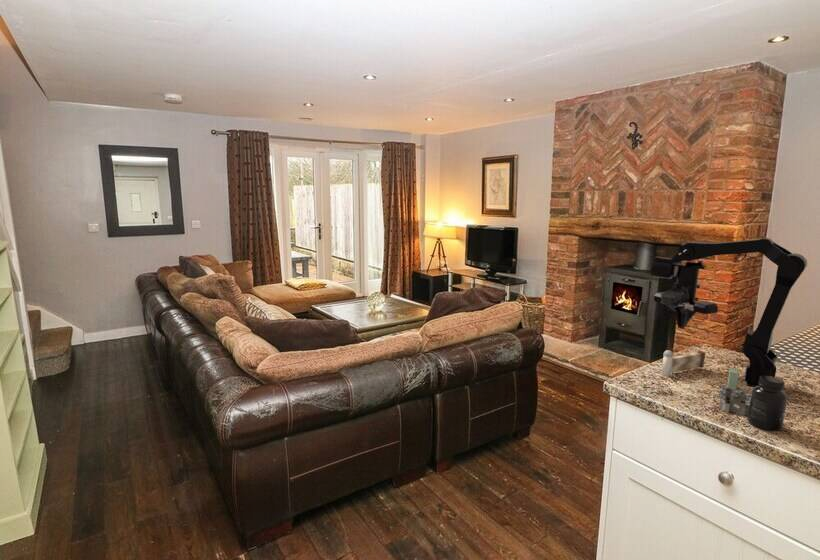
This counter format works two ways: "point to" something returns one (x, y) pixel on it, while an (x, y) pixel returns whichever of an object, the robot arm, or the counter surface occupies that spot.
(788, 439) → the counter surface
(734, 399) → the egg carton
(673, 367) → the gate
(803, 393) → the counter surface
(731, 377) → the latch post
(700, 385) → the counter surface
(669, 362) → the hinge post
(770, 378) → the supplement bottle
